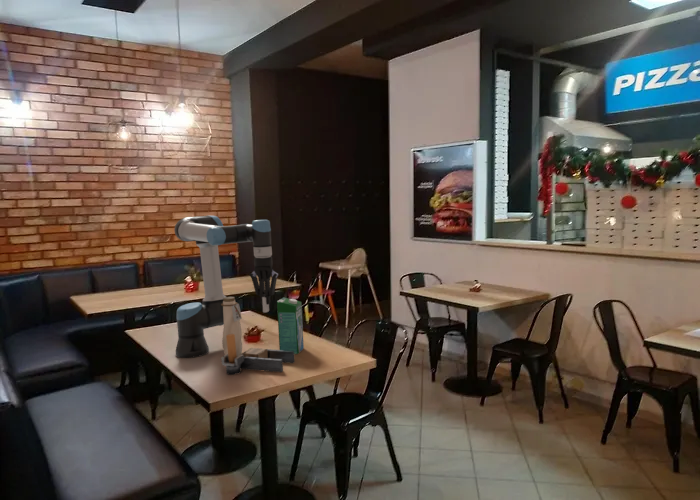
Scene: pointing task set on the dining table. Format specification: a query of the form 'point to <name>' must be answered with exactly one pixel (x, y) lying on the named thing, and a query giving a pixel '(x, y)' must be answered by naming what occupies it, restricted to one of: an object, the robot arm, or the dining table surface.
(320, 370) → the dining table surface
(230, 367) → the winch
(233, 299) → the water bottle
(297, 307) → the milk carton
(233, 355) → the handle peg
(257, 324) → the dining table surface
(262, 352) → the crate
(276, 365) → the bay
